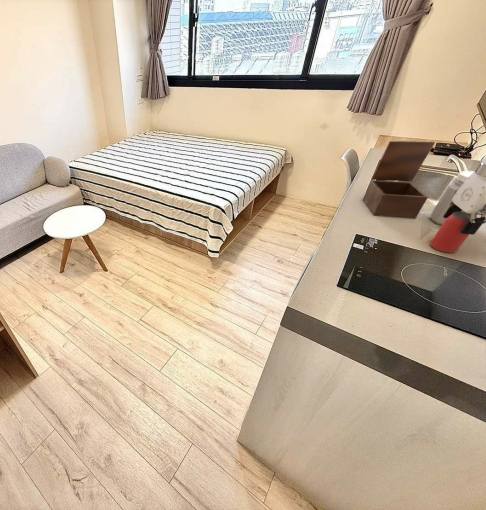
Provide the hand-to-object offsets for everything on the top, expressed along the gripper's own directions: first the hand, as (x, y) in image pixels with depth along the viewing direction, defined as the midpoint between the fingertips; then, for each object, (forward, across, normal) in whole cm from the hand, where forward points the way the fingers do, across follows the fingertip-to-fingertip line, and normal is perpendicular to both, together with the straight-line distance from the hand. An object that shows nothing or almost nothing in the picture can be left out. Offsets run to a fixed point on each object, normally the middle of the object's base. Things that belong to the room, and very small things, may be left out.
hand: (457, 225), depth 86 cm
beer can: (+9, 0, 0) cm, 9 cm away
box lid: (-9, -34, -7) cm, 35 cm away
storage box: (+8, -28, -7) cm, 30 cm away
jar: (+9, -20, +9) cm, 23 cm away
